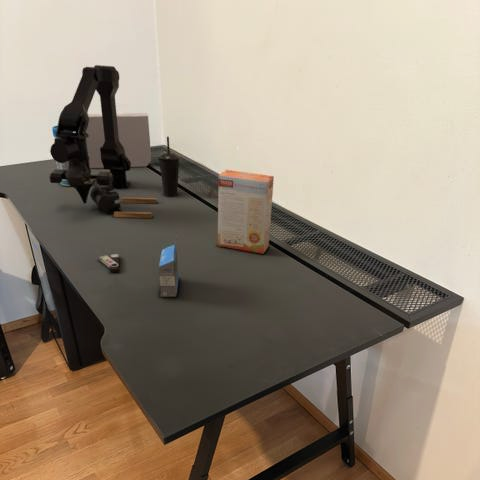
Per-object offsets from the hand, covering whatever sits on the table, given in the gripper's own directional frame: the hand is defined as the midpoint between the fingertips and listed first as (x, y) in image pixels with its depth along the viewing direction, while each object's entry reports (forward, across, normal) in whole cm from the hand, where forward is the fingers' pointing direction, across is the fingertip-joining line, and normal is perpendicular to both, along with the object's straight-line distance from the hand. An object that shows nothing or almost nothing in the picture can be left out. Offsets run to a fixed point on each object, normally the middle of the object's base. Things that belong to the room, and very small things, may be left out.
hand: (85, 203), depth 150 cm
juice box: (+2, +33, -50) cm, 60 cm away
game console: (+2, +1, +49) cm, 49 cm away
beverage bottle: (+2, -12, +25) cm, 27 cm away
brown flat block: (+2, +17, 0) cm, 17 cm away
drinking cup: (+1, +26, +16) cm, 31 cm away
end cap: (+2, +7, 0) cm, 7 cm away
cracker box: (+1, +52, -26) cm, 58 cm away
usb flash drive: (+2, +16, -39) cm, 42 cm away
